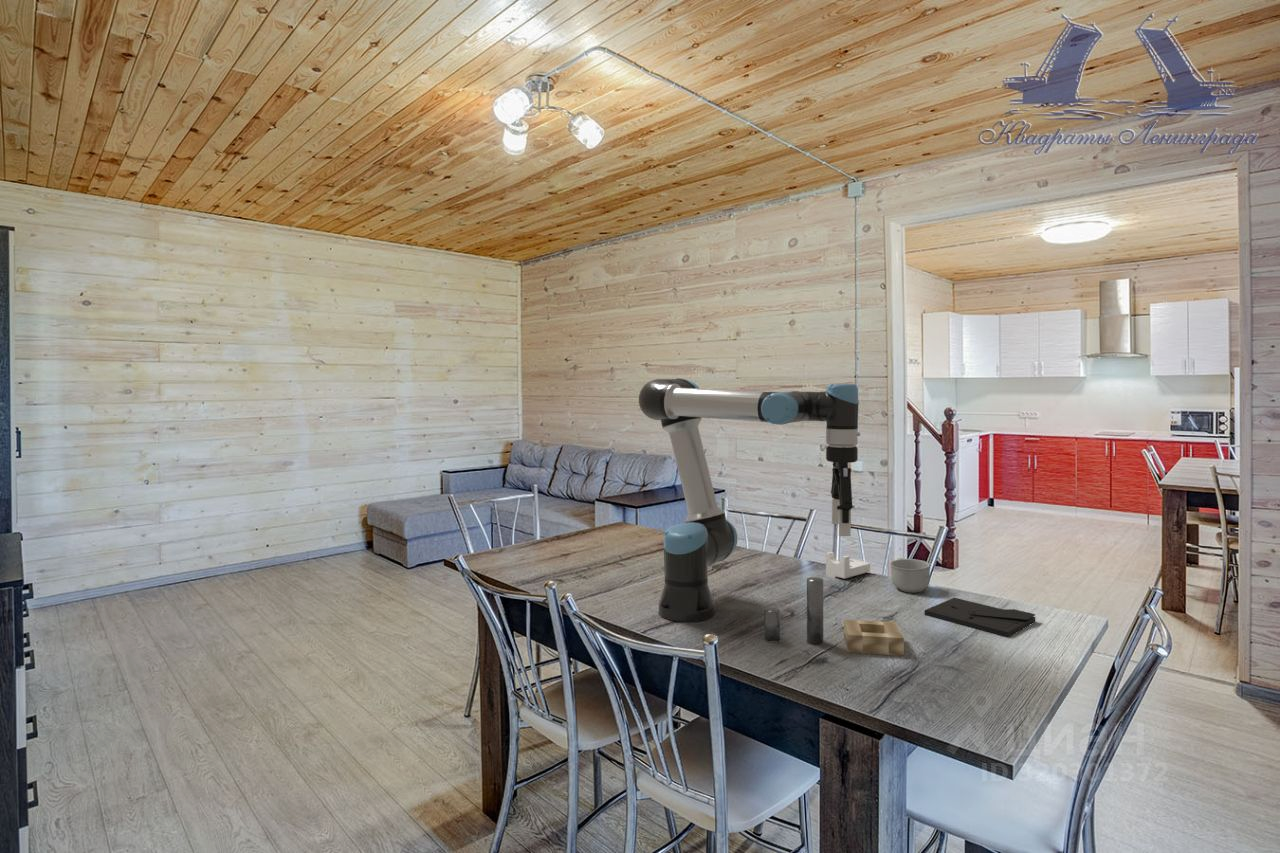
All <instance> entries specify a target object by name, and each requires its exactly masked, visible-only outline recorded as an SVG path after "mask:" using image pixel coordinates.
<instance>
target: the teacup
mask: <svg viewBox="0 0 1280 853" xmlns="http://www.w3.org/2000/svg"><path fill="white" fill-rule="evenodd" d="M889 564H890V576H891V582H892V584H893V585H894V586H895V587H896V588H898V590H899V591H901V592H905V593H914V594H915V593H920V592H923V591H924V590H925V589H927V588H928V587H929V585H930V581H931V580H930V577H931V576H930V575H931V574H930V571H931V570H930V567H931V564H930V563H929V562H927V561H925V560H920V559H915V558H903V557H898V558H897V559H894V560H892V561H891V562H890V563H889Z"/></svg>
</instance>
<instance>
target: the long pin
mask: <svg viewBox="0 0 1280 853" xmlns="http://www.w3.org/2000/svg"><path fill="white" fill-rule="evenodd" d="M806 643H808V644H810V645H813V644H814V645H815V646H816V645H817V646H819V645H820V646H821V645H823V644H824V579H823V578H822V577H815V576H813V577H812V576H811V577H810V576H809V577H807V578H806Z"/></svg>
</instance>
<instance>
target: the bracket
mask: <svg viewBox="0 0 1280 853" xmlns="http://www.w3.org/2000/svg"><path fill="white" fill-rule="evenodd" d="M869 572H871V562H867V561H863V560H859V559H854V558H851V557H850V555H844V556H841V561H839V560H838V559H837V558H836V556H835V552H834V551H829V552H826V553H825V577H829V578H834V579H836V578H841V579H848V578H852V577H855V576H858V575H863V574H865V573H869Z"/></svg>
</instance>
